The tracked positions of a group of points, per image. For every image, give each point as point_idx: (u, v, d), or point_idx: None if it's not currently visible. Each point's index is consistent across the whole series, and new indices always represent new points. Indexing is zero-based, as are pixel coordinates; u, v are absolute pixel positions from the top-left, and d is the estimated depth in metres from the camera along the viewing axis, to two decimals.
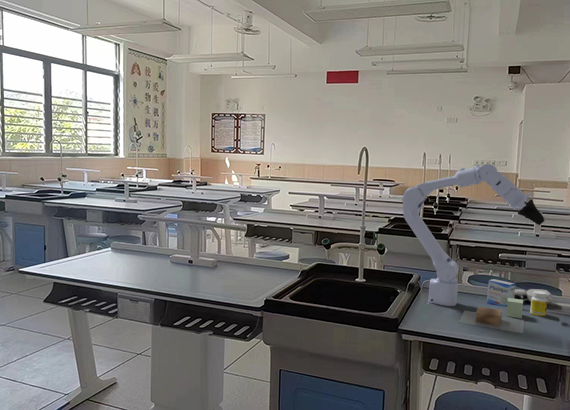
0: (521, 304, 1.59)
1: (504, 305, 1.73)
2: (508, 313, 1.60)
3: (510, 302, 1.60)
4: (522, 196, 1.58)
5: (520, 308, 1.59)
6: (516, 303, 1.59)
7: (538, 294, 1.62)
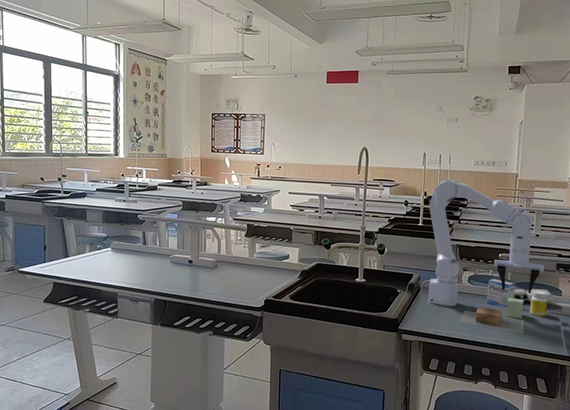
0: (521, 304, 1.59)
1: (504, 305, 1.73)
2: (508, 313, 1.60)
3: (510, 302, 1.60)
4: (511, 261, 1.59)
5: (520, 308, 1.59)
6: (516, 303, 1.59)
7: (538, 294, 1.62)
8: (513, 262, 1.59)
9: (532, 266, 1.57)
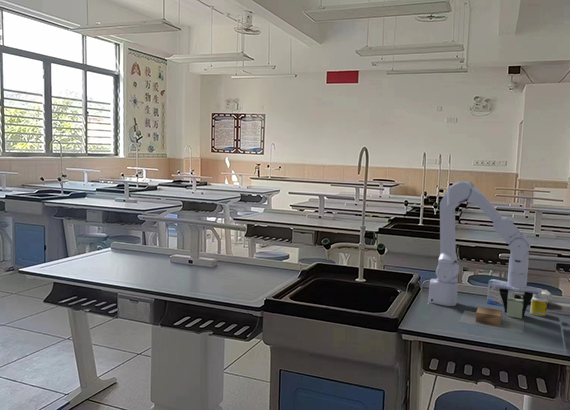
0: (521, 304, 1.59)
1: None
2: (508, 313, 1.60)
3: (510, 302, 1.60)
4: (509, 284, 1.60)
5: (520, 308, 1.59)
6: (516, 303, 1.59)
7: None
8: (511, 285, 1.59)
9: (530, 289, 1.58)
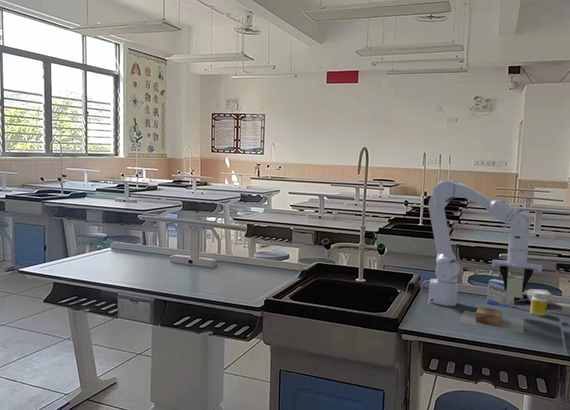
0: (521, 280, 1.57)
1: (504, 305, 1.73)
2: (508, 290, 1.59)
3: (510, 279, 1.59)
4: (509, 261, 1.59)
5: (520, 285, 1.58)
6: (516, 280, 1.58)
7: (538, 294, 1.62)
8: (511, 262, 1.58)
9: (530, 266, 1.56)
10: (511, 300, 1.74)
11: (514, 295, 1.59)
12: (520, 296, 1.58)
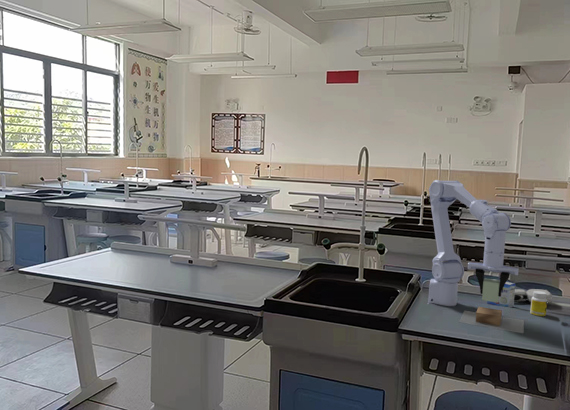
0: (497, 284, 1.51)
1: (504, 305, 1.73)
2: (484, 294, 1.53)
3: (486, 282, 1.53)
4: (485, 263, 1.53)
5: (496, 288, 1.51)
6: (492, 283, 1.52)
7: (538, 294, 1.62)
8: (487, 265, 1.52)
9: (506, 269, 1.50)
10: (511, 300, 1.74)
11: (490, 299, 1.52)
12: (496, 300, 1.52)
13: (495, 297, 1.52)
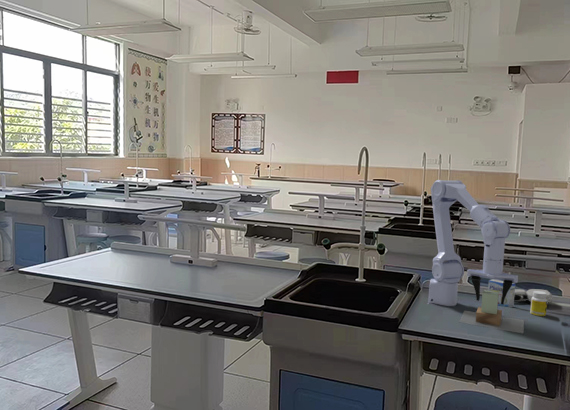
0: (496, 296, 1.51)
1: (504, 305, 1.73)
2: (483, 306, 1.53)
3: (485, 294, 1.53)
4: (484, 271, 1.53)
5: (495, 300, 1.52)
6: (491, 295, 1.52)
7: (538, 294, 1.62)
8: (486, 272, 1.52)
9: (506, 276, 1.50)
10: (511, 301, 1.74)
11: (489, 311, 1.53)
12: (495, 312, 1.52)
13: (494, 309, 1.52)
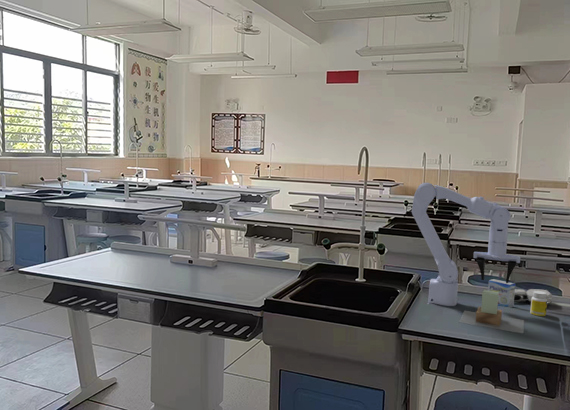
0: (496, 296, 1.51)
1: (504, 305, 1.73)
2: (483, 306, 1.53)
3: (485, 294, 1.53)
4: (489, 252, 1.67)
5: (495, 300, 1.52)
6: (491, 295, 1.52)
7: (538, 294, 1.62)
8: (491, 253, 1.66)
9: (509, 257, 1.64)
10: (511, 300, 1.74)
11: (489, 311, 1.53)
12: (495, 312, 1.52)
13: (494, 309, 1.52)
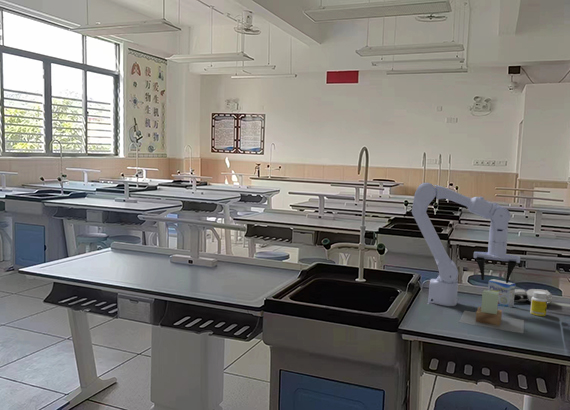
0: (496, 296, 1.51)
1: (504, 305, 1.73)
2: (483, 306, 1.53)
3: (485, 294, 1.53)
4: (489, 252, 1.67)
5: (495, 300, 1.52)
6: (491, 295, 1.52)
7: (538, 294, 1.62)
8: (491, 253, 1.66)
9: (509, 257, 1.64)
10: (511, 300, 1.74)
11: (489, 311, 1.53)
12: (495, 312, 1.52)
13: (494, 309, 1.52)
